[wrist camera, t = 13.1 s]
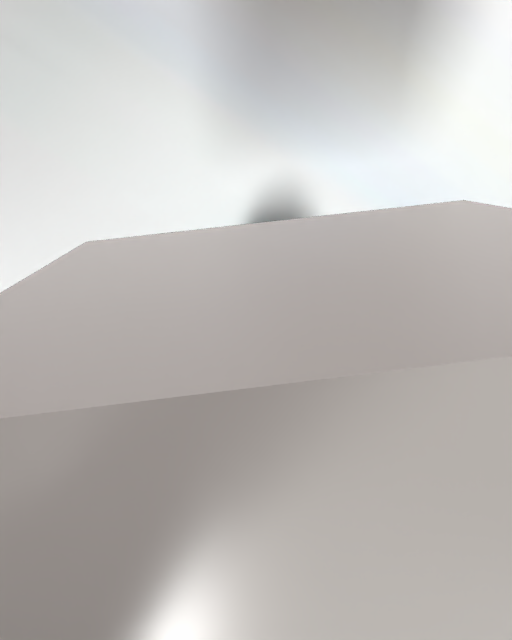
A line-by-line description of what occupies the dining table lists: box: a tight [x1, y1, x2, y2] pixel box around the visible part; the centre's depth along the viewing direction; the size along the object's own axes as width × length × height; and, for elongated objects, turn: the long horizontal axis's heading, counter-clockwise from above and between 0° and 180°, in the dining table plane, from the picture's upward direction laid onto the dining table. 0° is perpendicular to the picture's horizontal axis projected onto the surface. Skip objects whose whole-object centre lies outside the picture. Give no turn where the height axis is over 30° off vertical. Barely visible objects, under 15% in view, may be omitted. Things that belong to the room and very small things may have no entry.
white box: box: [0, 200, 512, 640], centre depth 9 cm, size 10×10×9 cm
